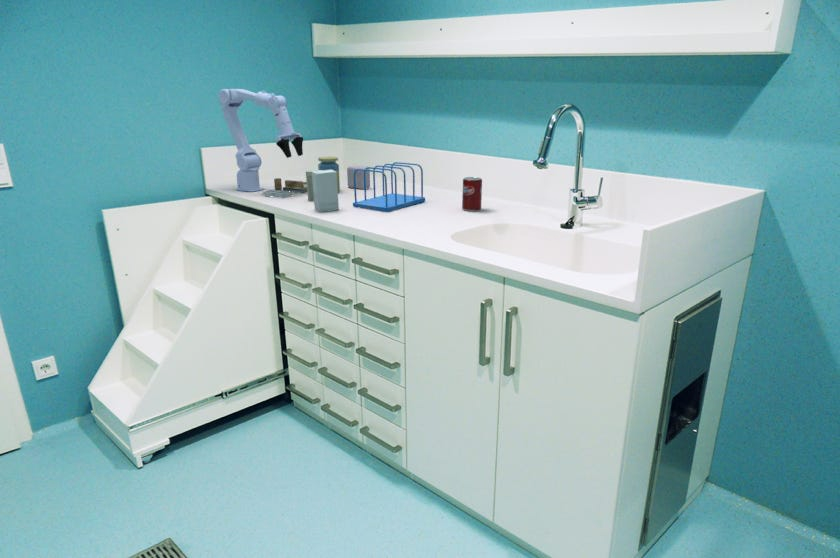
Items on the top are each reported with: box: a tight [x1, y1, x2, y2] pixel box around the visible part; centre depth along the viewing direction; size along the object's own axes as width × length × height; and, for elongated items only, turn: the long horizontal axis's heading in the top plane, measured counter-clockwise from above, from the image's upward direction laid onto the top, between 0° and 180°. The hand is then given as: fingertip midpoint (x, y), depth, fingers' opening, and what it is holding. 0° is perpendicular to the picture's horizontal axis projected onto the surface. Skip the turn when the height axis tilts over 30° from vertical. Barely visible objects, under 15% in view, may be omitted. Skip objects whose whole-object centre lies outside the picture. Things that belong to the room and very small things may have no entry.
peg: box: [273, 177, 283, 191], centre depth 257 cm, size 3×3×6 cm
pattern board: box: [282, 181, 307, 194], centre depth 266 cm, size 11×19×2 cm, turn 153°
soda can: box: [461, 176, 483, 212], centre depth 223 cm, size 7×7×12 cm
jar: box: [317, 156, 341, 193], centre depth 257 cm, size 9×9×15 cm
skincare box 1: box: [305, 169, 323, 202], centre depth 240 cm, size 6×4×12 cm
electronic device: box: [346, 164, 371, 190], centre depth 267 cm, size 10×5×10 cm, turn 58°
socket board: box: [261, 189, 295, 199], centre depth 251 cm, size 12×7×2 cm, turn 63°
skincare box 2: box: [312, 170, 340, 213], centre depth 221 cm, size 8×6×15 cm
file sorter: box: [352, 161, 426, 213], centre depth 232 cm, size 25×17×15 cm
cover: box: [284, 179, 307, 190], centre depth 262 cm, size 9×9×3 cm
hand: (295, 156), depth 247 cm, fingers open, 7 cm apart
